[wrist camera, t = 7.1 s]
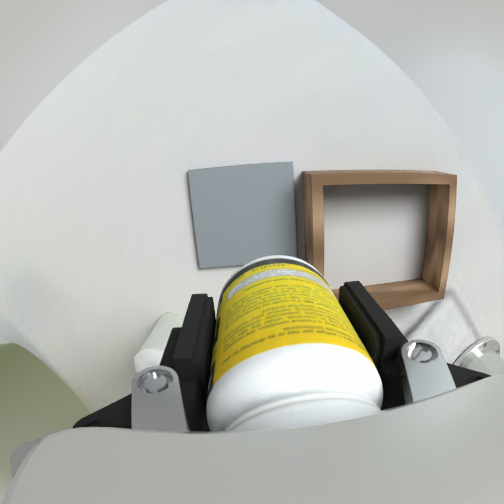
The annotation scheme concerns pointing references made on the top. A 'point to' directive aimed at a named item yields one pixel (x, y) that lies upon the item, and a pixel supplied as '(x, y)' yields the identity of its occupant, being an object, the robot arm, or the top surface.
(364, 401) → the supplement bottle
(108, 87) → the top surface
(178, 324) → the milkshake
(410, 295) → the walnut box
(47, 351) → the top surface
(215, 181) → the slate mat
